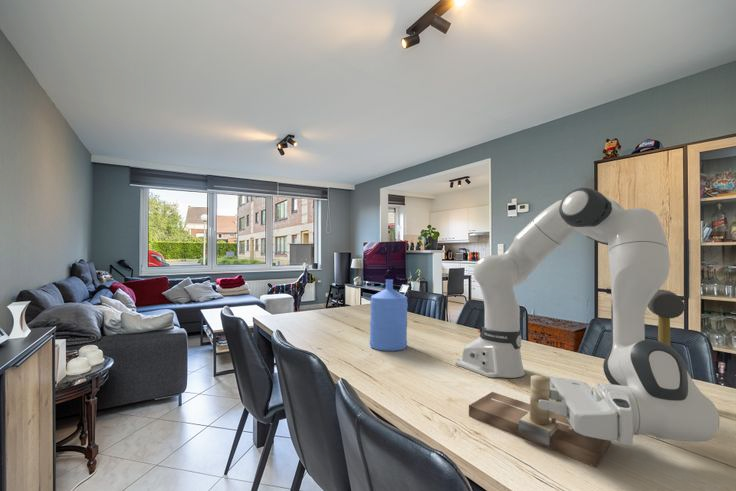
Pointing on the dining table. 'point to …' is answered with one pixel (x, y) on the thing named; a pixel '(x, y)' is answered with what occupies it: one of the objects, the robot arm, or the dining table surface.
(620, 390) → the robot arm
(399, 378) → the dining table surface
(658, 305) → the rubber mallet
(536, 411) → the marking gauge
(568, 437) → the walnut board
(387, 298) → the water jug
